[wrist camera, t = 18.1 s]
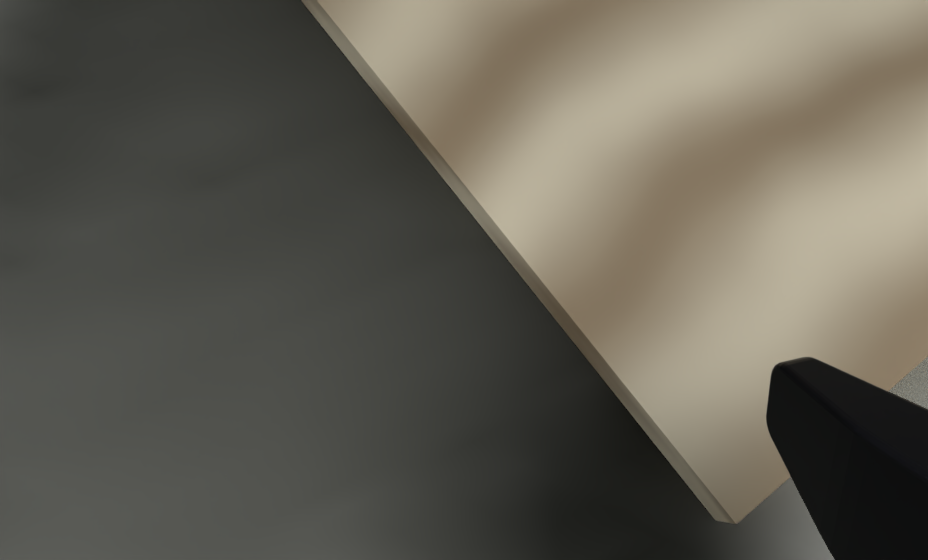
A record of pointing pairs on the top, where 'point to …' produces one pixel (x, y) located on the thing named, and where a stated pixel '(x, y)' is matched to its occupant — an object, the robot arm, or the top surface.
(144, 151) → the top surface
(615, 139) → the plywood board
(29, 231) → the top surface
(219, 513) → the top surface
